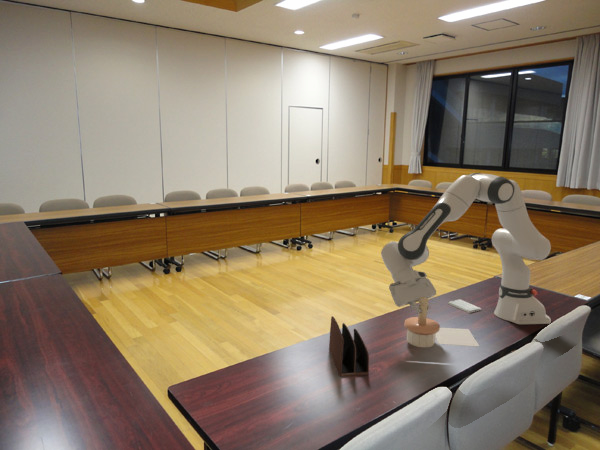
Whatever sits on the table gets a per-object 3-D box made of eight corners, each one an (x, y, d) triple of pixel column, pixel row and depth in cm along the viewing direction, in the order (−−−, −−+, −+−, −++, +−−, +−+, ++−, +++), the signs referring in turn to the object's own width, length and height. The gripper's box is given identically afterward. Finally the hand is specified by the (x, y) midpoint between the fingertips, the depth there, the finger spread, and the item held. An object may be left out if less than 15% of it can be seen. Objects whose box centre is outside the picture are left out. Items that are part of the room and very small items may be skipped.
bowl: (431, 337, 167) (432, 324, 166) (436, 349, 157) (437, 335, 156) (405, 335, 169) (406, 322, 168) (408, 347, 159) (409, 334, 158)
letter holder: (339, 377, 139) (340, 337, 136) (328, 348, 158) (329, 313, 155) (369, 375, 140) (370, 336, 137) (354, 347, 159) (356, 312, 156)
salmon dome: (435, 320, 167) (438, 291, 165) (442, 335, 155) (445, 304, 152) (402, 318, 169) (404, 290, 167) (406, 333, 156) (408, 302, 154)
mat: (468, 330, 174) (468, 329, 174) (479, 347, 159) (479, 346, 159) (431, 328, 175) (431, 327, 175) (438, 345, 161) (438, 343, 161)
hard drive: (448, 301, 202) (469, 310, 192) (460, 299, 206) (481, 307, 195) (448, 305, 203) (468, 314, 192) (460, 302, 207) (481, 311, 196)
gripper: (391, 280, 158) (410, 313, 152) (428, 271, 169) (446, 302, 163) (382, 288, 163) (400, 320, 157) (418, 279, 174) (436, 309, 168)
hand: (424, 311), depth 160 cm, fingers open, 3 cm apart
